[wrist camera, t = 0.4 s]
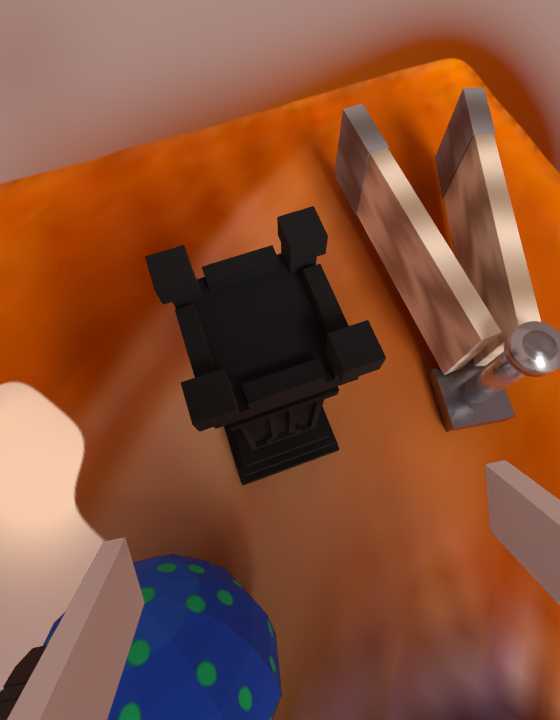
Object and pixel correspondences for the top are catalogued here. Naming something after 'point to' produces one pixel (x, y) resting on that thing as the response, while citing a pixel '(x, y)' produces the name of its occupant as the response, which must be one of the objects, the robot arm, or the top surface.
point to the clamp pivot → (495, 378)
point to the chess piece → (266, 346)
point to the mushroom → (196, 648)
